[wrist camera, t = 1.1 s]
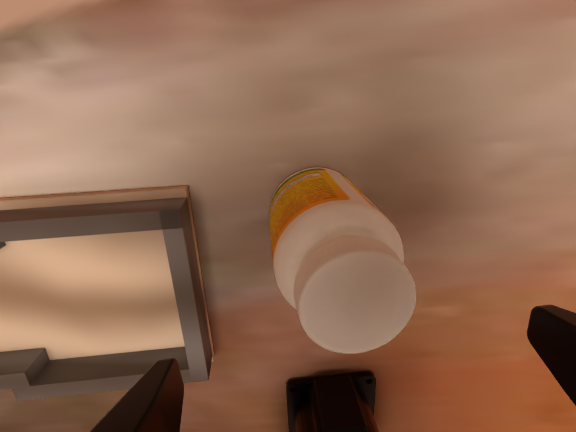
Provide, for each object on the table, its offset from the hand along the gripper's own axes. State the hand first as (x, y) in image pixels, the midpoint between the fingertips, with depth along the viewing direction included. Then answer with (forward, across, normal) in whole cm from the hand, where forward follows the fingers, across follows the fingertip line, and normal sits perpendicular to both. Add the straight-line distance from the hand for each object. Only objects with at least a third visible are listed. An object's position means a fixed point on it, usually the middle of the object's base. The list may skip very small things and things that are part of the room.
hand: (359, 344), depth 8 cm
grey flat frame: (+12, +17, +4) cm, 21 cm away
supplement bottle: (+12, -1, +1) cm, 12 cm away
